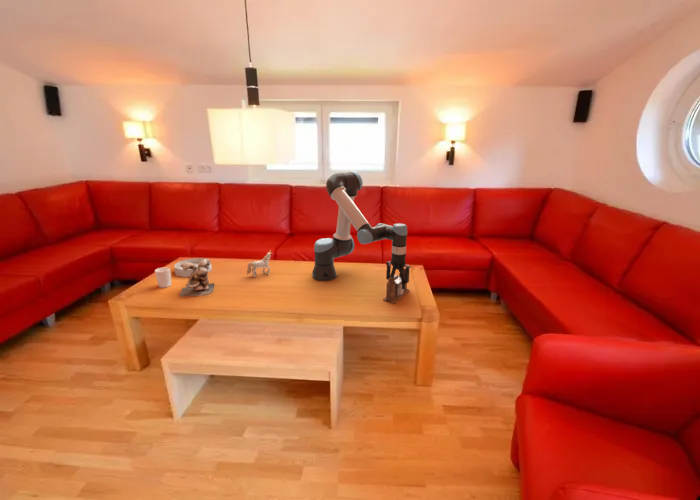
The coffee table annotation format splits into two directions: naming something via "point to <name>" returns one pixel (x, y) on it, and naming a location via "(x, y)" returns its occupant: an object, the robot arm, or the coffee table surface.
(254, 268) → the unicorn figurine
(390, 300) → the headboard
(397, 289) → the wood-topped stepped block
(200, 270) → the cherub figurine
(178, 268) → the dish
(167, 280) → the white cup
